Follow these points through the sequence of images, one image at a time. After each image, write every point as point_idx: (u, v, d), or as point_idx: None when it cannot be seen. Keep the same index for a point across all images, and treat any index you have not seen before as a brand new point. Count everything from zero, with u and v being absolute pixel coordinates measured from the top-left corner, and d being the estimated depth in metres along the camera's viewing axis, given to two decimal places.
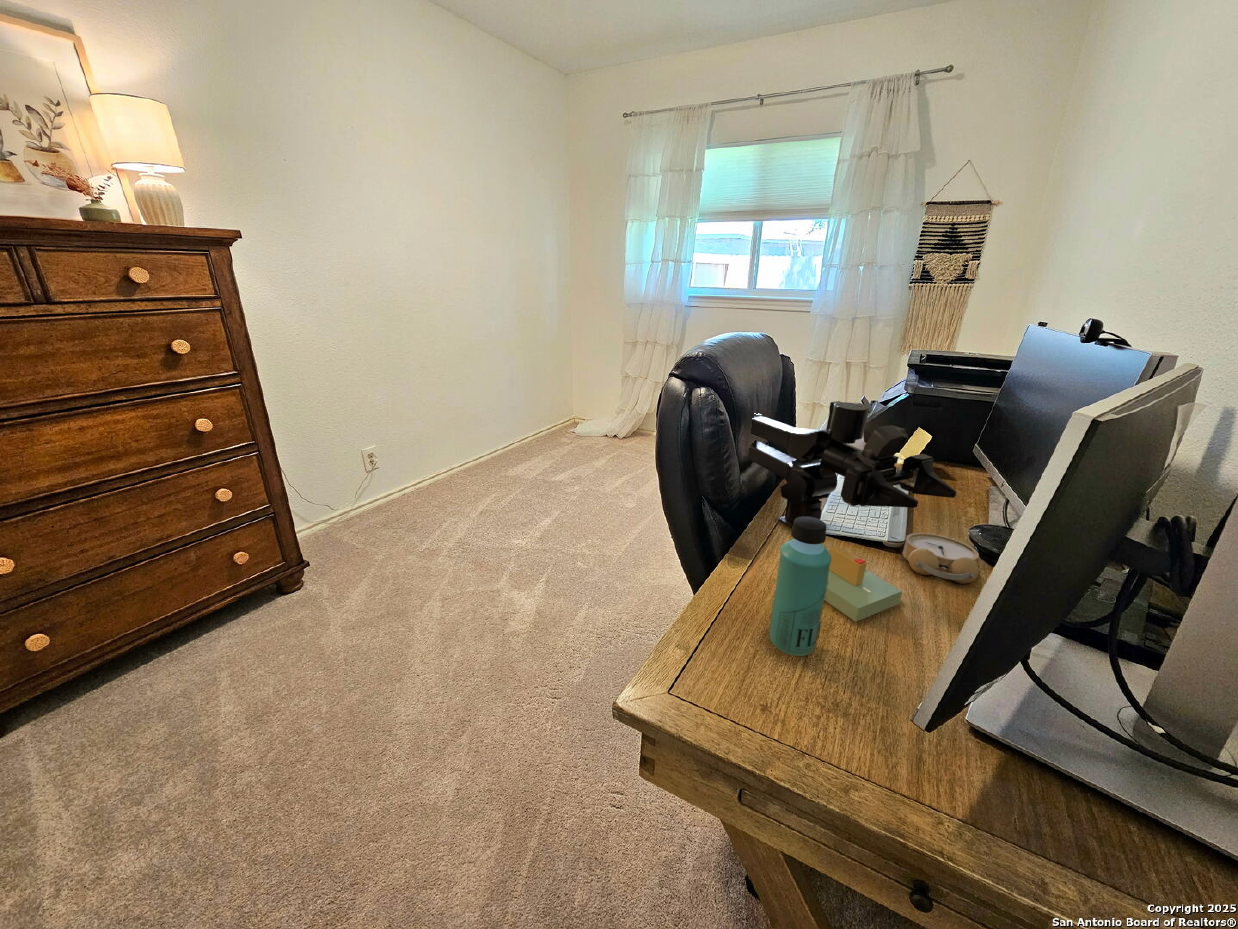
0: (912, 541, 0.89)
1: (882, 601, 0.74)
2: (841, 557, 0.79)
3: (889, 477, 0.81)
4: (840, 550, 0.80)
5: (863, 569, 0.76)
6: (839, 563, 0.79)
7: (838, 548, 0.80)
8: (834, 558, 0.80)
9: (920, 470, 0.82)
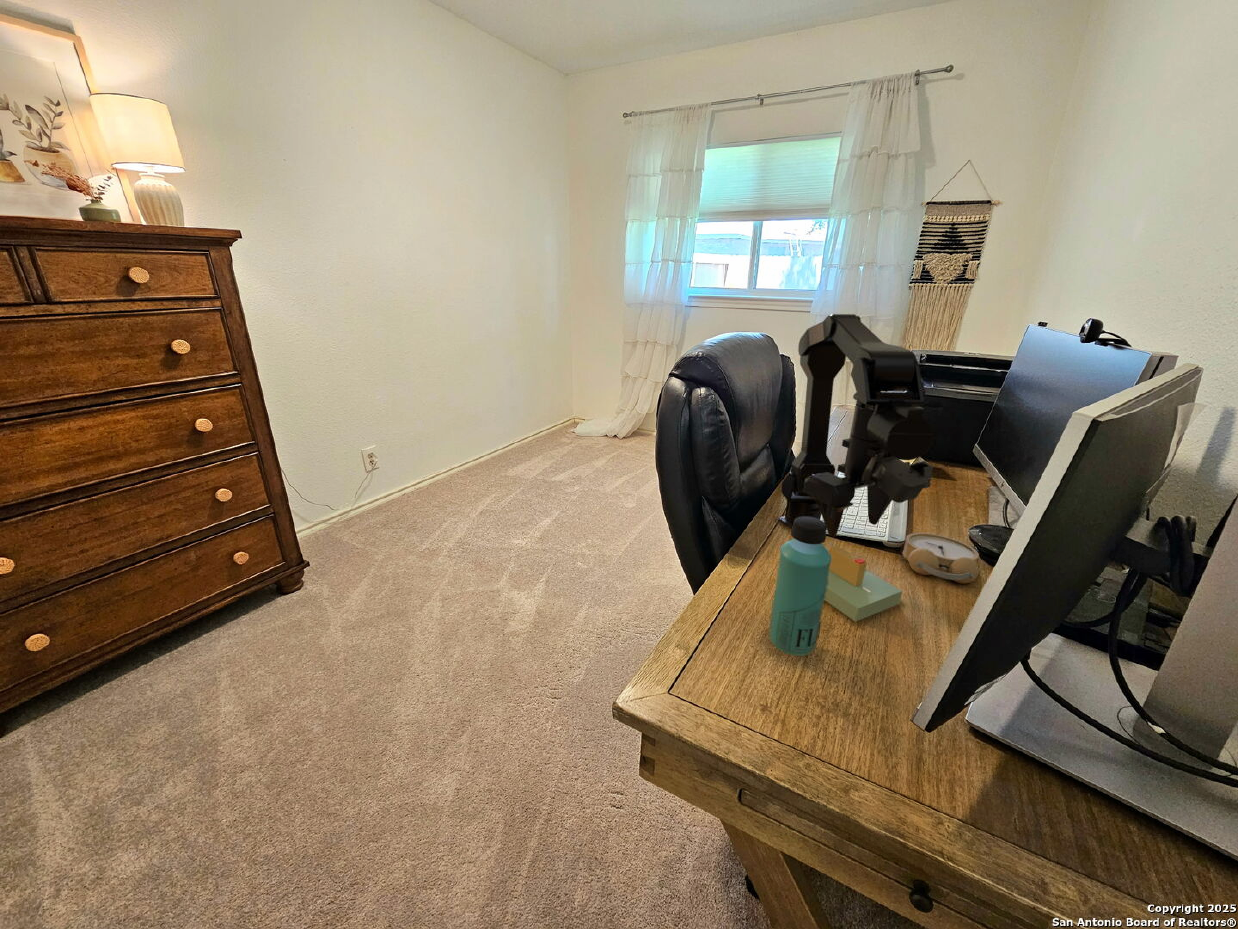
0: (912, 541, 0.89)
1: (882, 601, 0.74)
2: (841, 557, 0.79)
3: None
4: (840, 550, 0.80)
5: (863, 569, 0.76)
6: (839, 563, 0.79)
7: (838, 548, 0.80)
8: (834, 558, 0.80)
9: None
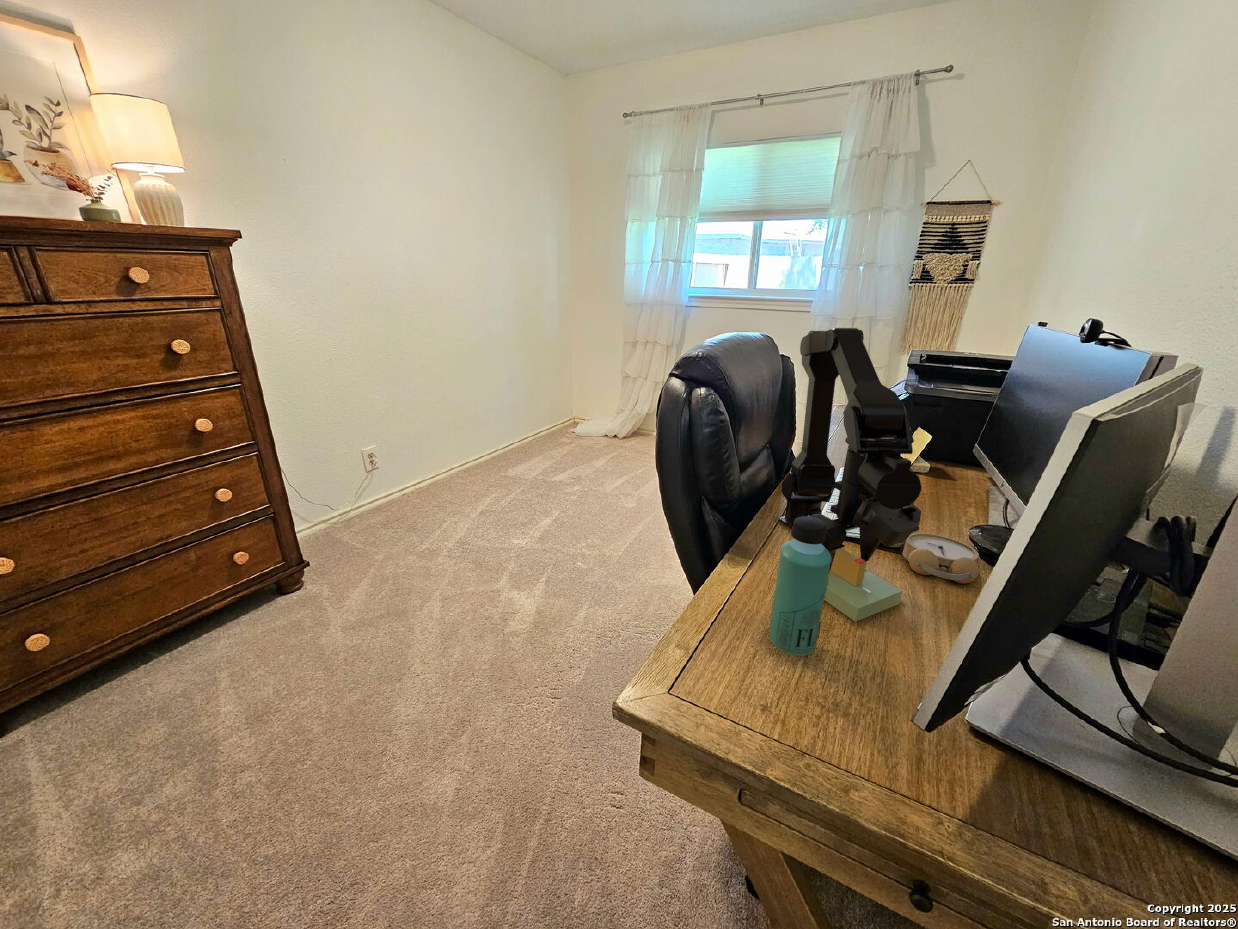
0: (912, 541, 0.89)
1: (882, 601, 0.74)
2: (841, 557, 0.79)
3: None
4: (840, 550, 0.80)
5: (863, 569, 0.76)
6: (839, 563, 0.79)
7: None
8: (834, 558, 0.80)
9: None
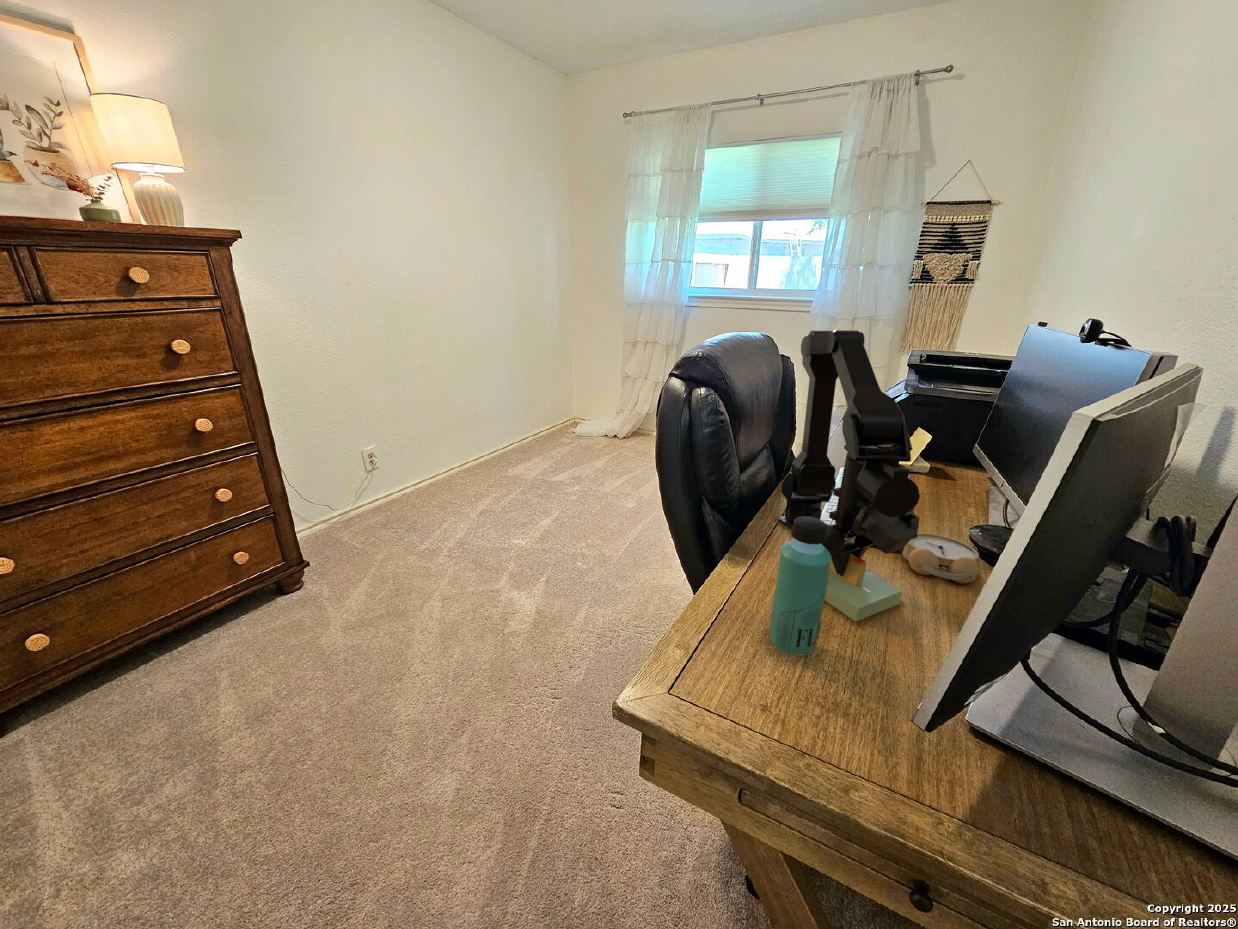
0: (912, 541, 0.89)
1: (882, 601, 0.74)
2: None
3: None
4: None
5: (863, 569, 0.76)
6: None
7: None
8: None
9: (865, 540, 0.77)
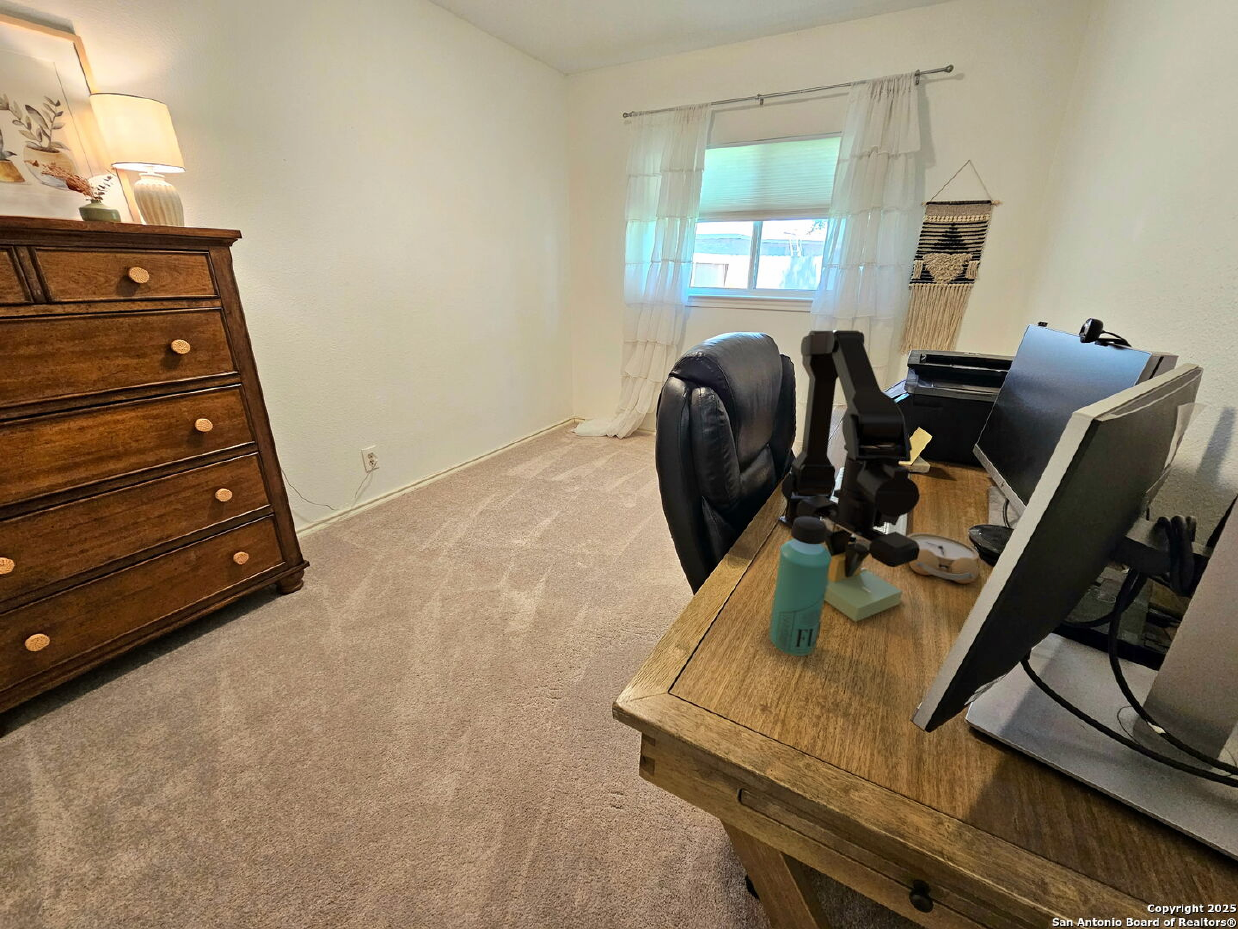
0: None
1: (882, 601, 0.74)
2: None
3: None
4: (840, 556, 0.78)
5: None
6: None
7: (837, 556, 0.78)
8: (842, 567, 0.78)
9: (849, 532, 0.79)
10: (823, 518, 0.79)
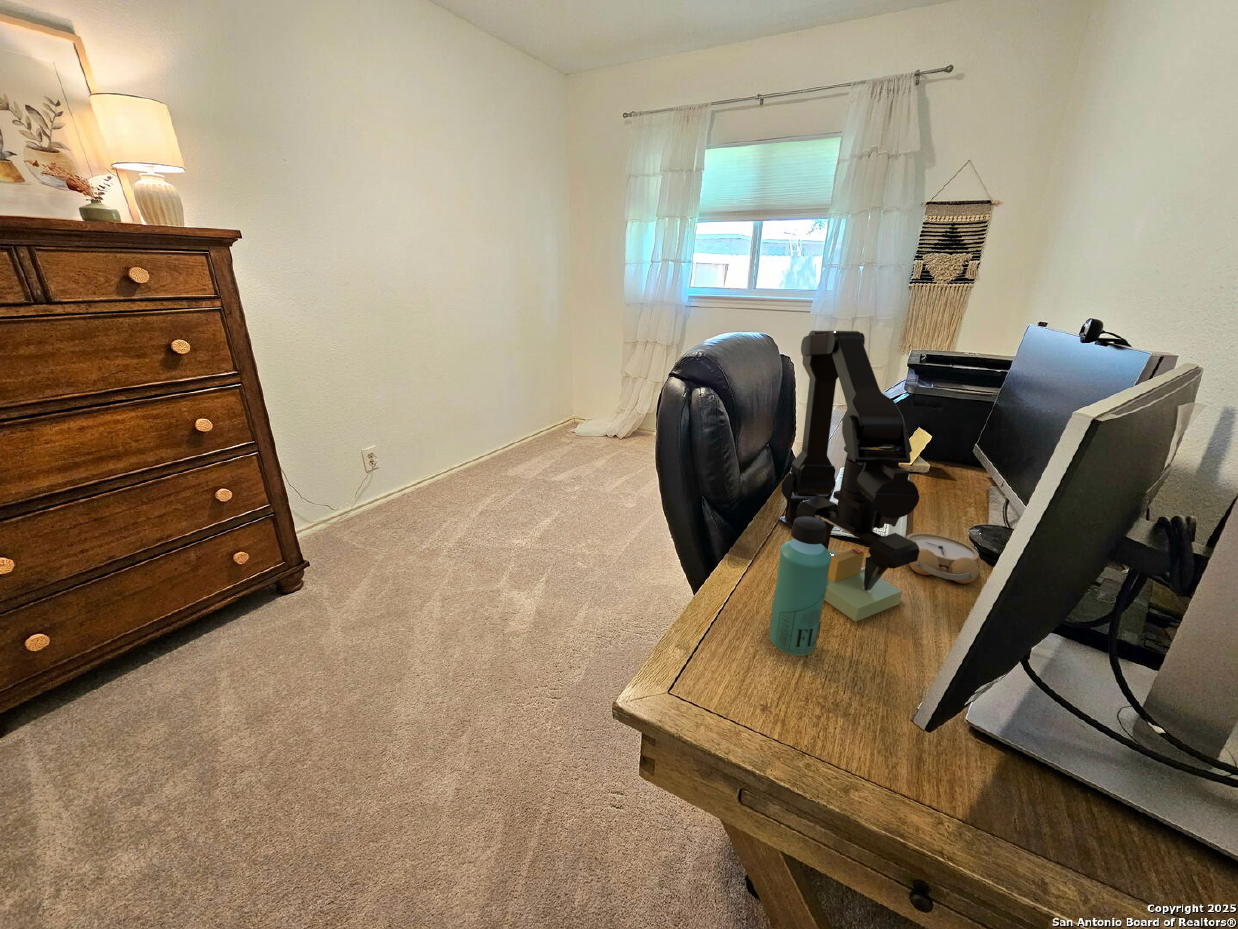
0: None
1: (882, 601, 0.74)
2: (848, 561, 0.78)
3: None
4: (840, 556, 0.78)
5: None
6: (847, 567, 0.78)
7: (837, 556, 0.78)
8: (842, 567, 0.78)
9: (831, 524, 0.82)
10: None
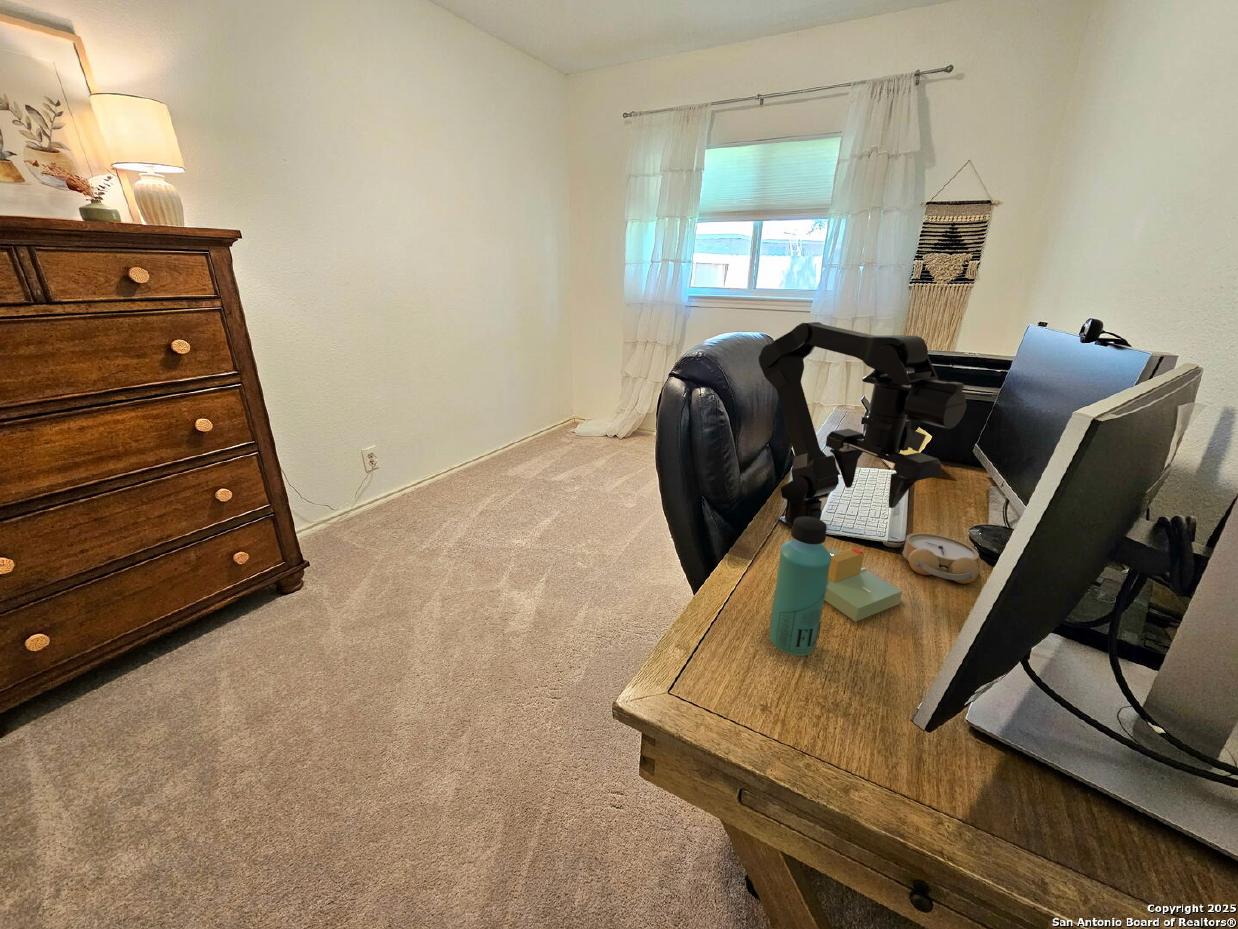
0: (912, 541, 0.89)
1: (882, 601, 0.74)
2: (848, 561, 0.78)
3: None
4: (840, 556, 0.78)
5: None
6: (847, 567, 0.78)
7: (837, 556, 0.78)
8: (842, 567, 0.78)
9: (858, 452, 0.89)
10: None
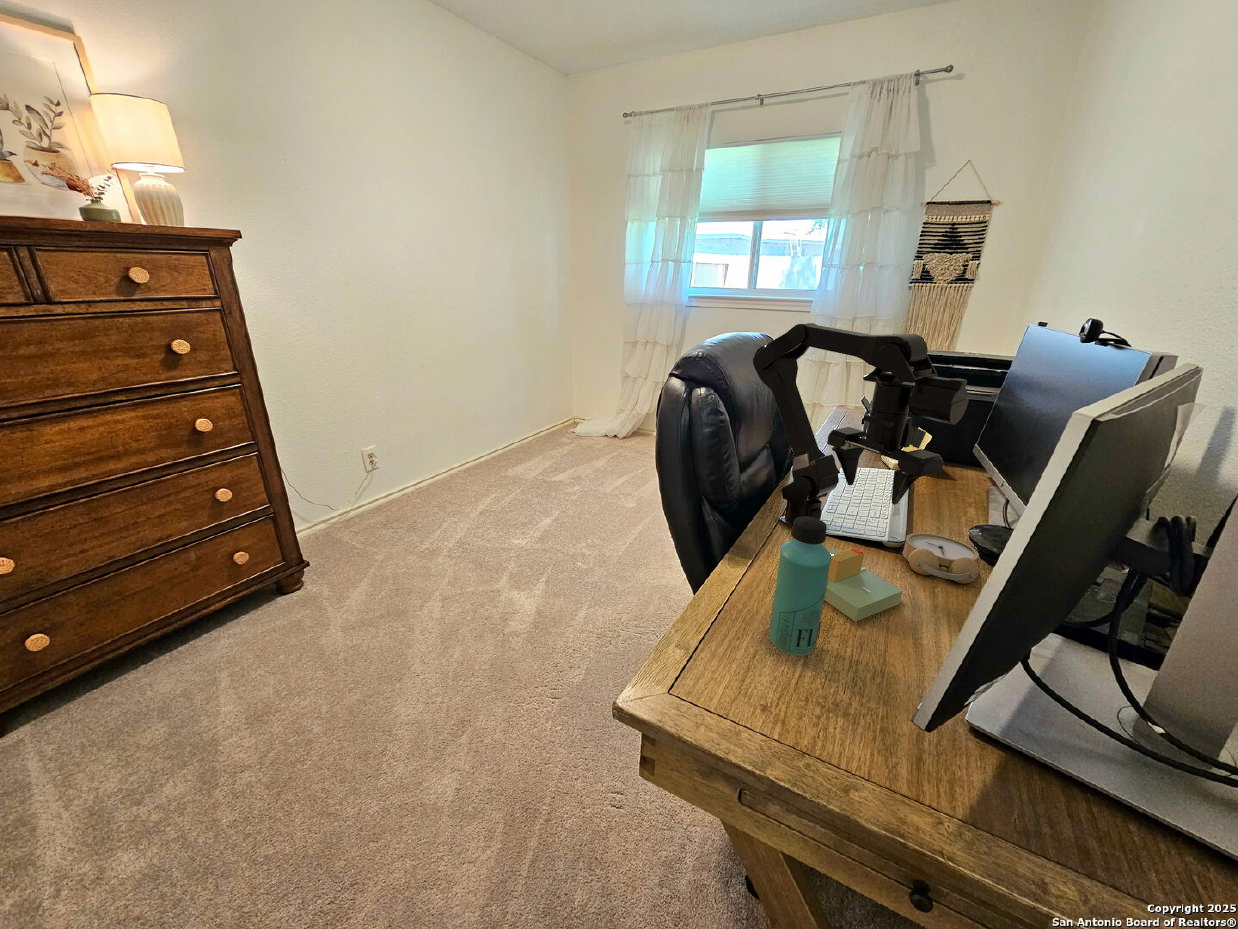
0: (912, 541, 0.89)
1: (882, 601, 0.74)
2: (848, 561, 0.78)
3: None
4: (840, 556, 0.78)
5: None
6: (847, 567, 0.78)
7: (837, 556, 0.78)
8: (842, 567, 0.78)
9: (859, 450, 0.90)
10: None
